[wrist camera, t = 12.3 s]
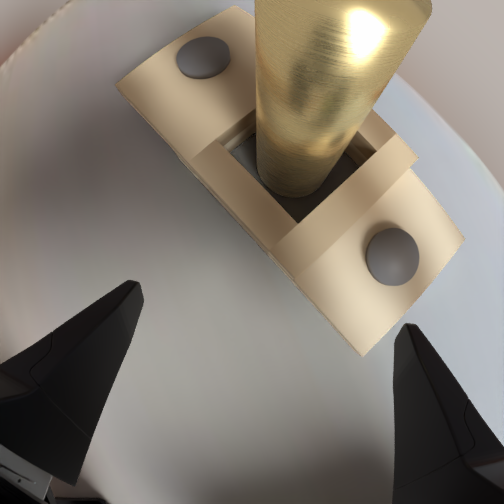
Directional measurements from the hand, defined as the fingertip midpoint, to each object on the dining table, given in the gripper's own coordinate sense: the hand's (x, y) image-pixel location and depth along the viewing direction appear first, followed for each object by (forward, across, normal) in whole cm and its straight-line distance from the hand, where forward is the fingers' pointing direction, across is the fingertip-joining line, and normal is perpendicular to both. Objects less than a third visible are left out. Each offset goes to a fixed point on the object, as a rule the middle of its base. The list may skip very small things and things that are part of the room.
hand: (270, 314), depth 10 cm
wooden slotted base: (+12, 0, -1) cm, 12 cm away
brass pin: (+12, 0, -1) cm, 12 cm away
